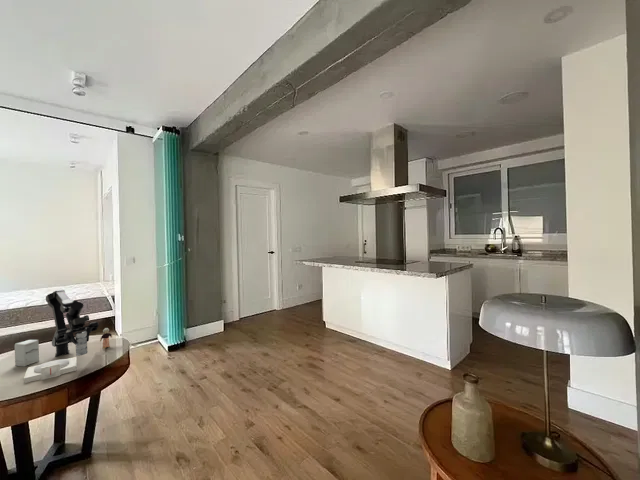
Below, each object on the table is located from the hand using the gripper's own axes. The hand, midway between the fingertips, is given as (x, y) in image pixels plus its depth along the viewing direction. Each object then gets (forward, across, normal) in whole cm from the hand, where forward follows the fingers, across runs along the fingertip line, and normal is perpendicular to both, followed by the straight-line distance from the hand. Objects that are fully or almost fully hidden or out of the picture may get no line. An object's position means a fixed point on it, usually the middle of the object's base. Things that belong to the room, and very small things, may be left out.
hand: (82, 342), depth 161 cm
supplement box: (-14, -16, +34) cm, 40 cm away
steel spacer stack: (+4, 0, +6) cm, 7 cm away
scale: (+4, -11, +14) cm, 19 cm away
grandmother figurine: (-5, +19, +24) cm, 31 cm away
